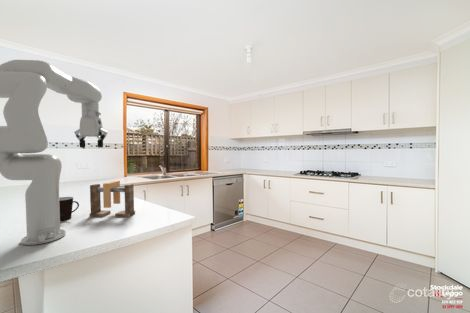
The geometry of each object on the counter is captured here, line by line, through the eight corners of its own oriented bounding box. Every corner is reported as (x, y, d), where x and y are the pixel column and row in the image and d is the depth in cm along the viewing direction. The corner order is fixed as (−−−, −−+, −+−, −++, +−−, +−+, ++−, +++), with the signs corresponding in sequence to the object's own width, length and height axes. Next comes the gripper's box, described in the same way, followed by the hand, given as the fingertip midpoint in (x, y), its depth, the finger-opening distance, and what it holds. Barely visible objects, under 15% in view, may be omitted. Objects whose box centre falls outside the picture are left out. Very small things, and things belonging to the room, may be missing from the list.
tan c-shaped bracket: (120, 203, 116) (119, 180, 116) (109, 207, 107) (108, 183, 107) (114, 203, 116) (114, 180, 116) (103, 207, 107) (102, 183, 107)
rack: (135, 213, 114) (134, 183, 114) (129, 217, 108) (128, 185, 108) (97, 213, 115) (96, 183, 115) (89, 216, 109) (88, 185, 109)
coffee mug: (47, 220, 104) (46, 199, 103) (68, 215, 111) (67, 196, 111) (60, 224, 98) (59, 202, 98) (81, 219, 106) (80, 198, 105)
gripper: (110, 115, 120) (111, 147, 120) (79, 116, 120) (80, 147, 121) (101, 113, 112) (102, 147, 113) (68, 114, 113) (70, 147, 114)
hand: (91, 147), depth 117 cm, fingers open, 9 cm apart
